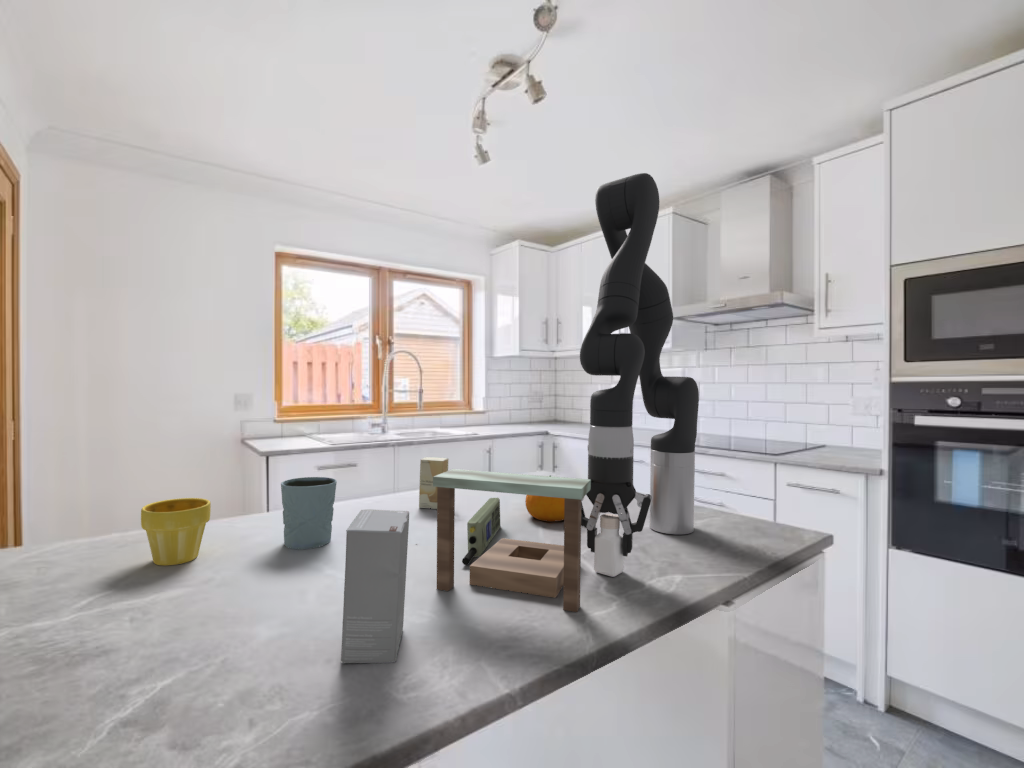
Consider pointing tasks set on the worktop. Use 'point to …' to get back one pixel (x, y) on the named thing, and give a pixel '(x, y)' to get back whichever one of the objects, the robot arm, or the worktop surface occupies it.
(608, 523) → the pepper shaker
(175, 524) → the plant pot
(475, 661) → the worktop surface
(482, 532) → the handheld radio
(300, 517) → the teal cup
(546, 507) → the fruit
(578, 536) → the stand
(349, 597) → the skincare box
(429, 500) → the skincare box
